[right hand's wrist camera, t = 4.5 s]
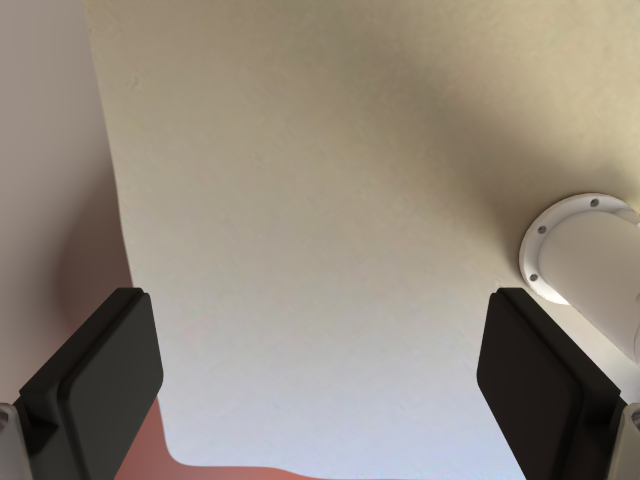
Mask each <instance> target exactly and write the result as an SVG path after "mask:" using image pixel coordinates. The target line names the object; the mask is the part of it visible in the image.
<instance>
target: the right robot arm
mask: <svg viewBox="0 0 640 480" xmlns="http://www.w3.org/2000/svg"><path fill="white" fill-rule="evenodd" d="M519 265H520V271H521V273H522V276H523V278H524V280H525V281H526V283H527V284H528V286H529V287H530V288H531V289H532V290H533V291H534V292H535V293H536V294H538V295H539V296H541V297H542V298H544V299H546V300H549V301H551V302H554V303H559V304H570V305H571V306H572V307H574V308H575V309H576V310H577V311H578V312H579V313H580V314H581V315H582V316H583V317H585V318H586V319H587V320H588V321H589V322H590V323H591V324H592V325H593V326H594V327H595V328H597V329H598V330H599V331H600V332H601V333H602V334H603V335H604V336H605V337H606V338H608V339H609V340H610V341H611V342H612V343H613V344H614V345H615V346H616V347H617V348H618V349H620V350H621V351H622V352H623V353H624V354H625V355H626V356H627V357H628V358H629V359H631V360H632V361H633V362H634V363H635V364H636V365H637V366H638V367H639V368H640V215H638V214H637V212H636V211H635V210H634V209H633V208H632V207H631V206H630V205H628V204H627V203H625V202H623V201H622V200H620V199H617V198H615V197H612V196H609V195H605V194H600V193H586V194H580V195H575V196H572V197H569V198H566V199H563V200H561V201H559V202H558V203H556V204H554V205H552V206H551V207H549V208H548V209H547V210H545V211H544V212H543V213H542V214H541V215H540V216H539V217H538V218H537V219H536V220H535V221H534V222H533V223H532V225H531V226H530V228H529V229H528V230H527V232H526V234H525V236H524V238H523V241H522V244H521V248H520V251H519ZM162 382H163V368H162V362H161V356H160V350H159V345H158V339H157V333H156V328H155V322H154V316H153V310H152V305H151V299H150V295H149V294H148V293H144V292H143V290H142V289H141V288H117V289H116V290H115V291H114V292H113V293H112V294H111V295H110V296H109V297H108V298H107V299H106V300H105V301H104V302H103V303H102V305H101V306H100V307H99V308H98V309H97V310H96V311H95V312H94V313H93V314H92V315H91V316H90V317H89V318H88V319H87V320H86V321H85V322H84V323H83V324H82V325H81V327H80V328H79V329H78V330H77V331H76V332H75V333H74V334H73V335H72V336H71V337H70V338H69V339H68V340H67V341H66V342H65V343H64V344H63V345H62V346H61V347H60V348H59V350H58V351H57V352H56V353H55V354H54V355H53V356H52V357H51V358H50V359H49V360H48V361H47V362H46V363H45V364H44V365H43V366H42V367H41V368H40V369H39V370H38V371H37V373H36V374H35V375H34V376H33V377H32V378H31V379H30V380H29V381H28V382H27V383H26V384H25V385H24V386H23V387H22V388H21V389H20V390H19V393H20V395H21V396H20V397H19V398H18V399H17V400H16V401H15V402H14V403H13V404H12V405H10V404H8V403H0V480H114V478H115V476H116V474H117V472H118V470H119V468H120V466H121V464H122V462H123V460H124V458H125V456H126V454H127V452H128V450H129V448H130V447H131V445H132V443H133V441H134V439H135V437H136V435H137V433H138V431H139V429H140V427H141V425H142V423H143V421H144V419H145V417H146V415H147V413H148V411H149V409H150V407H151V405H152V403H153V402H154V399H155V398H156V396H157V394H158V392H159V390H160V388H161V386H162ZM477 382H478V386H479V388H480V390H481V392H482V394H483V396H484V398H485V400H486V402H487V403H488V405H489V407H490V409H491V411H492V413H493V415H494V417H495V419H496V421H497V423H498V425H499V427H500V429H501V431H502V433H503V435H504V437H505V439H506V441H507V443H508V445H509V447H510V448H511V450H512V452H513V454H514V456H515V458H516V460H517V462H518V464H519V466H520V468H521V470H522V472H523V474H524V476H525V478H526V480H640V403H632V404H630V405H628V404H627V403H626V402H625V401H624V400H623V399H622V398H621V397H620V393H621V390H620V389H619V388H618V387H617V386H616V385H615V384H614V383H613V382H612V381H611V380H610V379H609V378H608V377H607V376H606V375H605V374H604V373H603V371H602V370H601V369H600V368H599V367H598V366H597V365H596V364H595V363H594V362H593V361H592V360H591V359H590V358H589V357H588V356H587V355H586V354H585V353H584V352H583V351H582V350H581V348H580V347H579V346H578V345H577V344H576V343H575V342H574V341H573V340H572V339H571V338H570V337H569V336H568V335H567V334H566V333H565V332H564V331H563V330H562V329H561V328H560V327H559V325H558V324H557V323H556V322H555V321H554V320H553V319H552V318H551V317H550V316H549V315H548V314H547V313H546V312H545V311H544V310H543V309H542V308H541V307H540V306H539V305H538V303H537V302H536V301H535V300H534V299H533V298H532V297H531V296H530V295H529V294H528V293H527V292H526V291H525V290H524V289H523V288H499V289H498V290H497V292H496V293H492V294H491V295H490V299H489V305H488V310H487V316H486V322H485V328H484V333H483V339H482V345H481V350H480V356H479V362H478V368H477Z"/></svg>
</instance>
